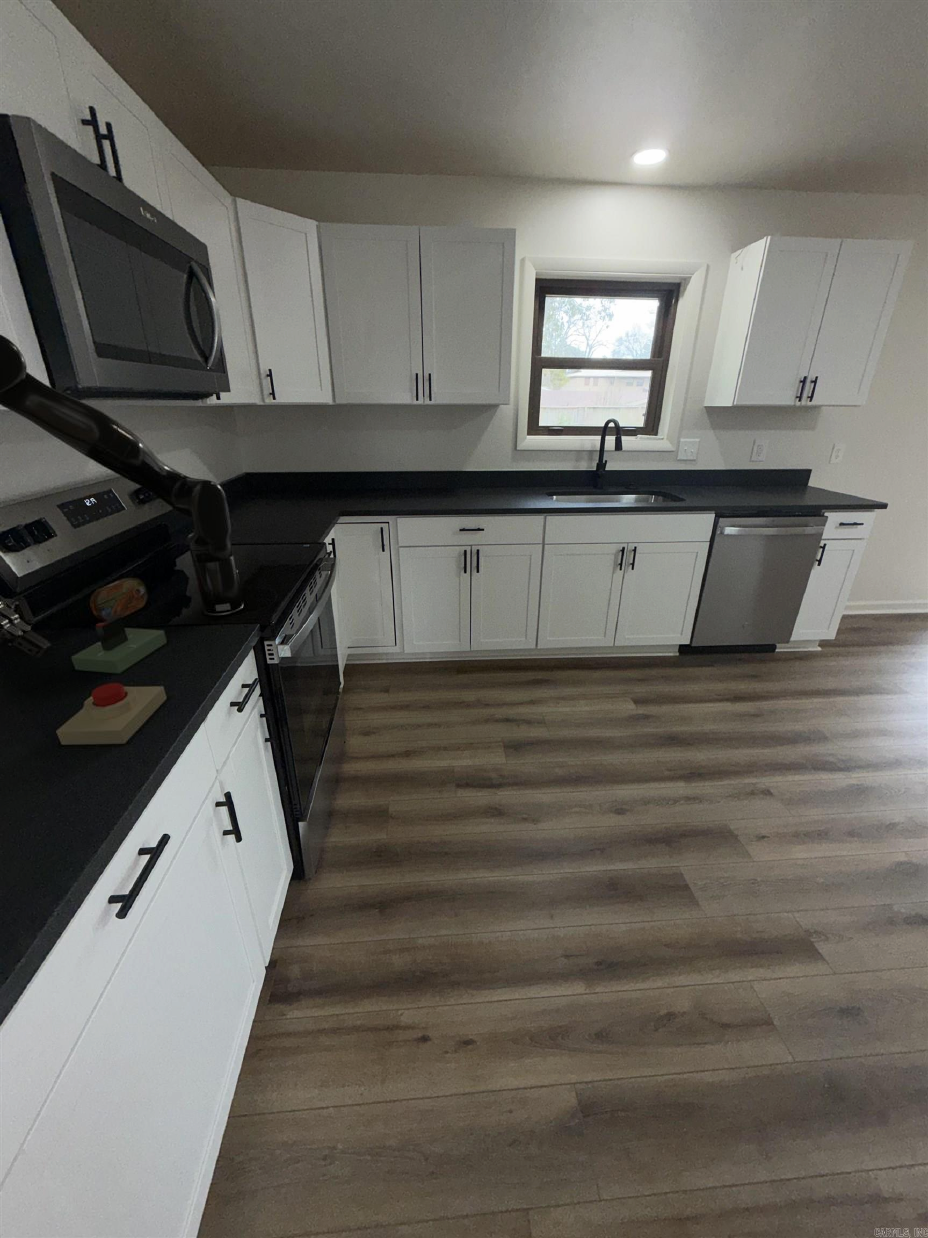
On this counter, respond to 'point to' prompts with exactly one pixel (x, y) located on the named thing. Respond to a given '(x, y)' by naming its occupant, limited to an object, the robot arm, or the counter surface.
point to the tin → (119, 598)
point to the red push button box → (112, 718)
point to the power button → (108, 694)
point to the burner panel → (120, 652)
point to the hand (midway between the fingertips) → (45, 651)
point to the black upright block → (111, 633)
